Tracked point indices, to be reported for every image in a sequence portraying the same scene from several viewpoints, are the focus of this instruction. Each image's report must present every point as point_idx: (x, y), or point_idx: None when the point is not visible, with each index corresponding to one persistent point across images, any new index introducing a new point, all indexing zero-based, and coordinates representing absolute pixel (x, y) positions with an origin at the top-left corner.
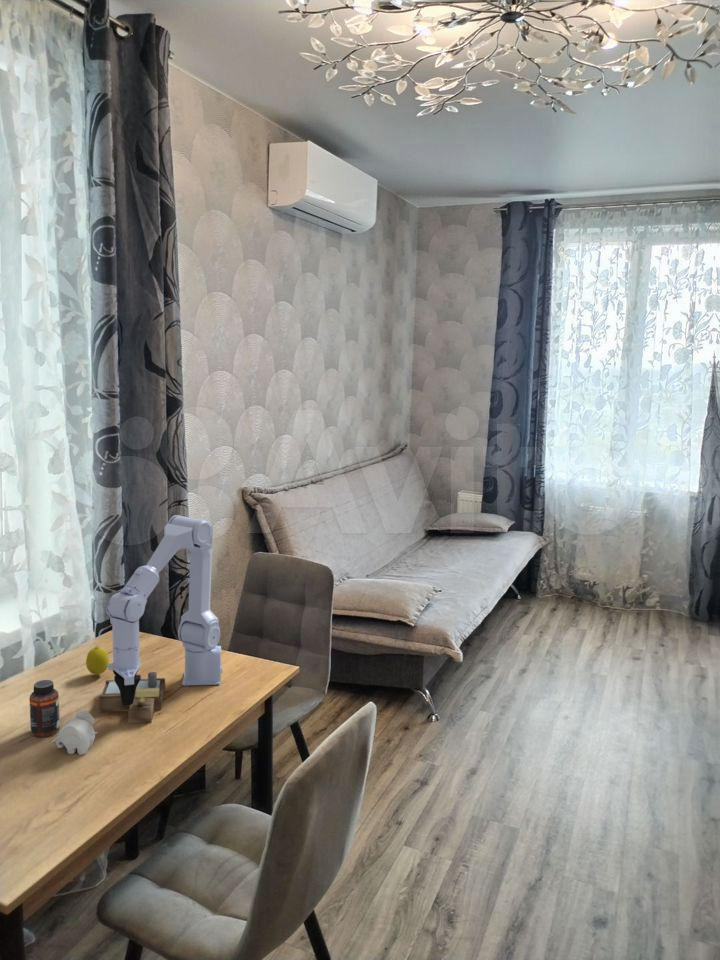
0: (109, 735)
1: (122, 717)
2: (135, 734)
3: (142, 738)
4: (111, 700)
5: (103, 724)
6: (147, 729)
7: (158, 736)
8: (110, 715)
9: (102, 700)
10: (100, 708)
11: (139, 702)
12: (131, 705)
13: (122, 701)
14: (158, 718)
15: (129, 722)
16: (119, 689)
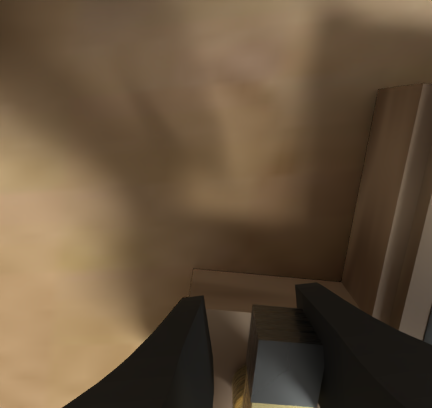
0: (68, 173)
1: (273, 231)
2: (67, 305)
3: (23, 338)
4: (397, 179)
5: (206, 129)
6: (114, 358)
7: (38, 405)
8: (314, 162)
9: (415, 110)
10: (386, 95)
11: (236, 394)
12: None
13: (170, 313)
14: None
15: (192, 274)
16: (76, 399)
